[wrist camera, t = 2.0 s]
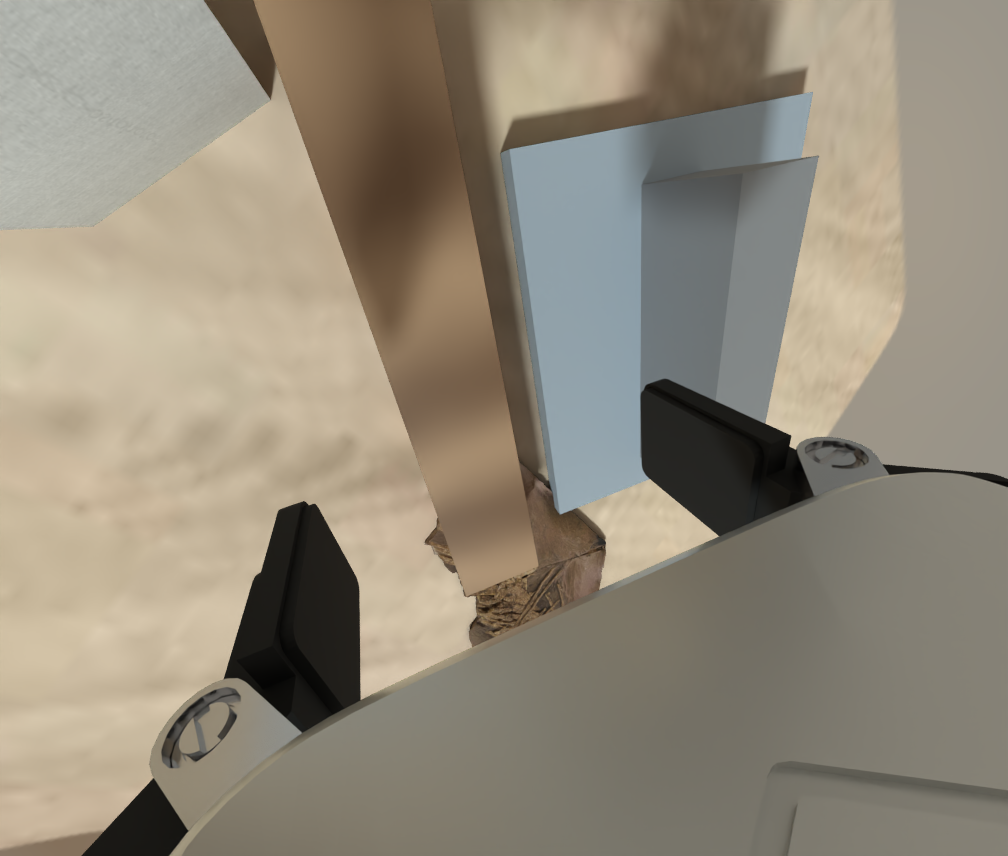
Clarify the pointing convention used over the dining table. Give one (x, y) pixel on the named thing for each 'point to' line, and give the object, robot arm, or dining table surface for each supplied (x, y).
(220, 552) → the dining table surface
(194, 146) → the grey pointed block
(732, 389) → the ridge stand
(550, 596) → the wooden fragment
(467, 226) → the walnut bar
